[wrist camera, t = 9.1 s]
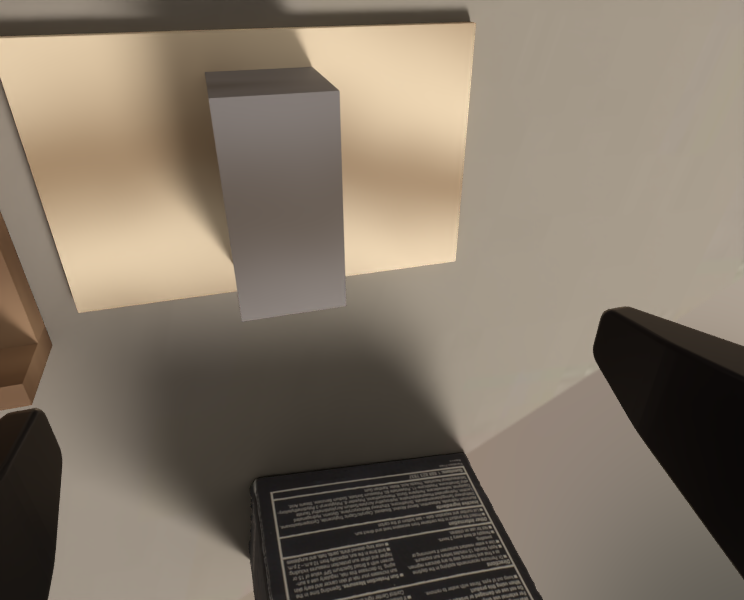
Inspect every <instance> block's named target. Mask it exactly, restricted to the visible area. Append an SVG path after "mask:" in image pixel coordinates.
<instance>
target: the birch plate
mask: <svg viewBox="0 0 744 600" xmlns="http://www.w3.org/2000/svg"><path fill="white" fill-rule="evenodd" d="M475 28H476V23H474V22H448V23H416V24H384V25H352V26H319V27H287V28H255V29H223V30H191V31H159V32H127V33H94V34H62V35H30V36H0V78H1V81H2V84H3V87H4V90H5V93H6V96H7V99H8V102H9V105H10V108H11V111H12V114H13V117H14V120H15V123H16V126H17V129H18V132H19V135H20V138H21V141H22V144H23V147H24V150H25V153H26V156H27V160H28V163H29V166H30V169H31V172H32V175H33V178H34V181H35V184H36V187H37V190H38V193H39V196H40V199H41V202H42V205H43V208H44V211H45V214H46V217H47V220H48V223H49V226H50V229H51V232H52V235H53V238H54V241H55V244H56V247H57V250H58V253H59V256H60V259H61V262H62V265H63V268H64V271H65V274H66V277H67V280H68V283H69V286H70V289H71V292H72V295H73V298H74V301H75V304H76V307H77V311H78V313H82V312H89V311H96V310H104V309H111V308H118V307H126V306H133V305H140V304H147V303H155V302H162V301H169V300H176V299H184V298H191V297H198V296H206V295H213V294H220V293H227V292H235V291H237V292H238V299H239V306H240V312H241V319H242V322H244V321H251V320H257V319H264V318H271V317H277V316H284V315H291V314H297V313H304V312H311V311H317V310H324V309H331V308H337V307H344V306H346V281H345V276H351V275H358V274H366V273H373V272H380V271H388V270H395V269H402V268H409V267H417V266H424V265H431V264H439V263H446V262H453V261H455V260H456V248H457V237H458V225H459V214H460V202H461V190H462V179H463V167H464V155H465V144H466V132H467V121H468V109H469V97H470V86H471V74H472V62H473V51H474V39H475Z"/></svg>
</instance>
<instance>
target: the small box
mask: <svg viewBox="0 0 744 600" xmlns="http://www.w3.org/2000/svg"><path fill="white" fill-rule="evenodd" d="M250 494H251V497H252V499H251V502H252V504H251V508H252V514H251V521H252V523H251V530H250V532H251V540H250V542H249V553H250V558H251V559H250V564H251V570H252V578H253V588H254V595H255V600H543V599H542V597H541V595H540V594H539V592H538V591H537V590H536V587H535V584H534V582H533V581H532V579H531V577H530V575H529V573H528V571H527V569H526V567H525V565H524V564H523V562H522V560H521V558H520V556H519V555H518V553H517V551H516V550H515V547H514V545H513V544H512V542H511V540H510V538H509V536H508V534H507V533H506V531H505V529H504V527H503V525H502V523H501V521H500V520H499V517H498V516H497V515H496V513H495V511H494V509H493V506H492V504H491V503H490V501H489V499H488V497H487V495H486V494H485V492H484V490H483V488H482V487H481V485H480V482H479V481H478V479H477V477H476V475H475V473H474V471H473V469H472V468H471V465H470V462H469V460H468V458H467V456H466V454H464V453H455V454H447V455H438V456H431V457H423V458H415V459H407V460H400V461H391V462H385V463H376V464H368V465H360V466H352V467H345V468H336V469H329V470H321V471H313V472H305V473H298V474H290V475H281V476H273V477H266V478H258V479H256V480H255V481H254V482H253V484H252V486H251V487H250Z"/></svg>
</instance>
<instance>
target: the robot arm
mask: <svg viewBox="0 0 744 600" xmlns="http://www.w3.org/2000/svg"><path fill="white" fill-rule="evenodd" d="M593 354H594V358H595V361H596V363H597V364H598V366H599V368H600V370H601V371H602V373H603V375H604V376H605V378H606V380H607V381H608V383H609V385H610V386H611V388H612V390H613V392H614V394H615V395H616V397H617V399H618V400H619V402H620V404H621V406H622V407H623V409H624V411H625V412H626V414H627V416H628V418H629V419H630V421H631V422H632V424H633V426H634V428H635V429H636V431H637V432H638V433H639V435H640V437H641V438H642V439H643V441H644V442H645V444H646V445H647V447H648V448H649V449H650V451H651V452H652V454H653V455H654V456H655V457H656V459H657V460H658V462H659V463H660V465H661V466H662V467H663V469H664V470H665V472H666V473H667V474H668V476H669V477H670V478H671V480H672V481H673V483H674V484H675V485H676V487H677V488H678V489H679V491H680V492H681V494H682V495H683V496H684V498H685V499H686V500H687V502H688V503H689V505H690V506H691V507H692V509H693V510H694V512H695V513H696V514H697V516H698V517H699V519H700V520H701V521H702V523H703V524H704V525H705V527H706V528H707V530H708V531H709V532H710V534H711V535H712V537H713V538H714V539H715V541H716V542H717V543H718V545H719V546H720V548H721V549H722V550H723V552H724V553H725V555H726V556H727V557H728V558H729V560H730V561H731V562H732V564H733V566H734V567H735V568H736V570H737V571H738V572H739V574H740V575H741V577H742V578H743V579H744V346H741V345H738V344H736V343H733V342H730V341H727V340H724V339H721V338H718V337H715V336H712V335H710V334H706V333H704V332H701V331H698V330H695V329H692V328H689V327H686V326H684V325H681V324H678V323H675V322H672V321H669V320H666V319H663V318H660V317H658V316H655V315H652V314H649V313H646V312H643V311H640V310H637V309H634V308H632V307H618V308H612V309H608V310H606V311H604V313H603V314H602V316H601V318H600V322H599V326H598V330H597V334H596V337H595V341H594V345H593ZM61 475H62V454H61V450H60V447H59V445H58V442H57V440H56V438H55V435H54V433H53V431H52V428H51V426H50V424H49V422H48V419H47V417H46V415H45V413H44V412H43V411H42V410H40V409H38V408H33V409H27V410H21V411H15V412H11V413H8V414H6V415H5V416H3V417H2V418H1V419H0V600H48V596H49V591H50V586H51V580H52V575H53V569H54V561H55V552H56V540H57V527H58V514H59V501H60V488H61Z"/></svg>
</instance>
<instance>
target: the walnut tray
mask: <svg viewBox="0 0 744 600" xmlns="http://www.w3.org/2000/svg"><path fill="white" fill-rule="evenodd" d="M51 348H52V343H51V341H50V338H49V335H48V333H47V330H46V328H45V325H44V323H43V320H42V317H41V315H40V312H39V310H38V307H37V304H36V302H35V299H34V297H33V294H32V292H31V289H30V286H29V284H28V281H27V279H26V276H25V274H24V271H23V268H22V266H21V263H20V261H19V258H18V256H17V253H16V250H15V248H14V245H13V243H12V240H11V238H10V235H9V232H8V230H7V227H6V225H5V222H4V220H3V217H2V214H1V212H0V410H6V409H11V408H17V407H23V406H29V405H32V403H33V400H34V397H35V394H36V391H37V388H38V385H39V383H40V380H41V377H42V374H43V371H44V368H45V365H46V362H47V359H48V356H49V353H50V351H51Z"/></svg>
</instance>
